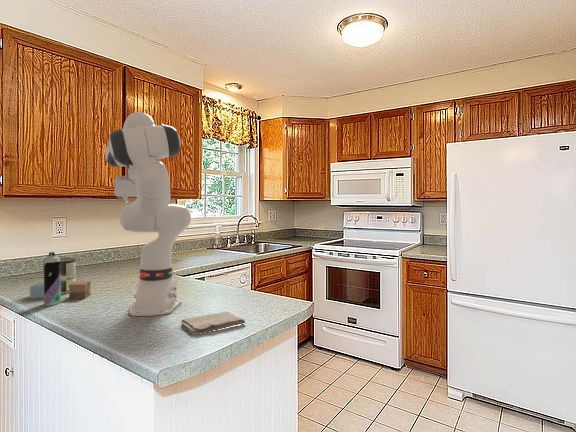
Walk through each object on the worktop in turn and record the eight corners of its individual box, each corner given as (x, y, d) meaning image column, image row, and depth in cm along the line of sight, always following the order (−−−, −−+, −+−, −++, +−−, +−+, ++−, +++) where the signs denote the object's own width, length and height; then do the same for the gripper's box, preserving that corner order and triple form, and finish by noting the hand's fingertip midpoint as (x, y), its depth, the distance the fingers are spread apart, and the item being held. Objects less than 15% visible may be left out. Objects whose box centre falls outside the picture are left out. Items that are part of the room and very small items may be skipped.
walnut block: (85, 298, 149) (85, 284, 149) (69, 299, 148) (69, 284, 148) (90, 294, 155) (90, 280, 155) (75, 295, 154) (75, 281, 154)
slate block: (44, 297, 150) (44, 285, 150) (30, 298, 148) (30, 286, 148) (46, 294, 155) (46, 282, 155) (32, 295, 153) (32, 284, 153)
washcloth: (178, 327, 117) (178, 317, 117) (228, 317, 128) (228, 308, 128) (193, 338, 108) (193, 328, 108) (245, 326, 119) (245, 317, 119)
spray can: (48, 306, 137) (47, 253, 137) (41, 304, 140) (40, 252, 140) (63, 302, 142) (62, 251, 141) (56, 300, 145) (55, 250, 144)
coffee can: (52, 295, 153) (52, 262, 153) (45, 291, 160) (45, 259, 160) (79, 291, 161) (79, 259, 160) (72, 287, 168) (71, 256, 167)
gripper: (112, 175, 158) (112, 206, 159) (161, 176, 162) (161, 207, 162) (116, 176, 165) (116, 206, 165) (163, 177, 168) (163, 207, 168)
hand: (139, 207), depth 163 cm, fingers open, 8 cm apart
